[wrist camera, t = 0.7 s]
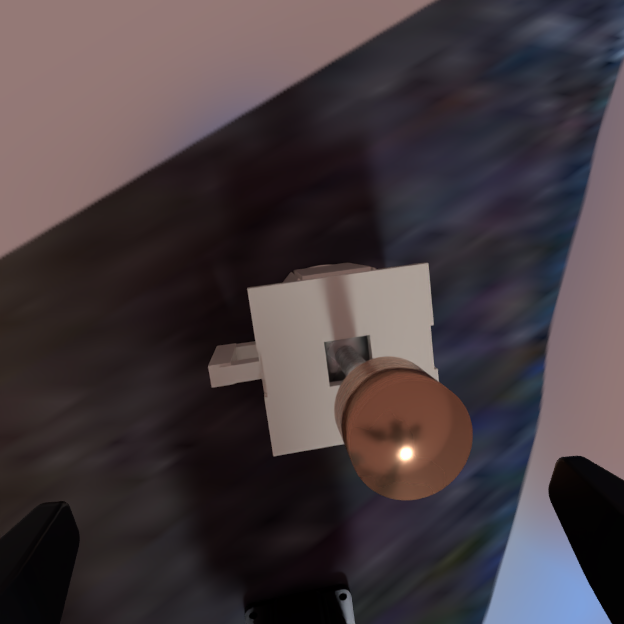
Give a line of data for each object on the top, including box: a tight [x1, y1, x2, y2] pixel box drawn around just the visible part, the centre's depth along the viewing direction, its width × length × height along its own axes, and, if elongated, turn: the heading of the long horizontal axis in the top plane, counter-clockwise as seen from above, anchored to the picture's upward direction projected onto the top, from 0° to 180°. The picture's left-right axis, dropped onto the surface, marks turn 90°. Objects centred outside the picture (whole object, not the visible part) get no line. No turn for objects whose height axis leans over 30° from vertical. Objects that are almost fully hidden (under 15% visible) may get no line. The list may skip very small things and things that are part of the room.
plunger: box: [324, 335, 473, 500], centre depth 16 cm, size 5×5×9 cm
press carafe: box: [208, 263, 439, 456], centre depth 22 cm, size 8×10×6 cm
